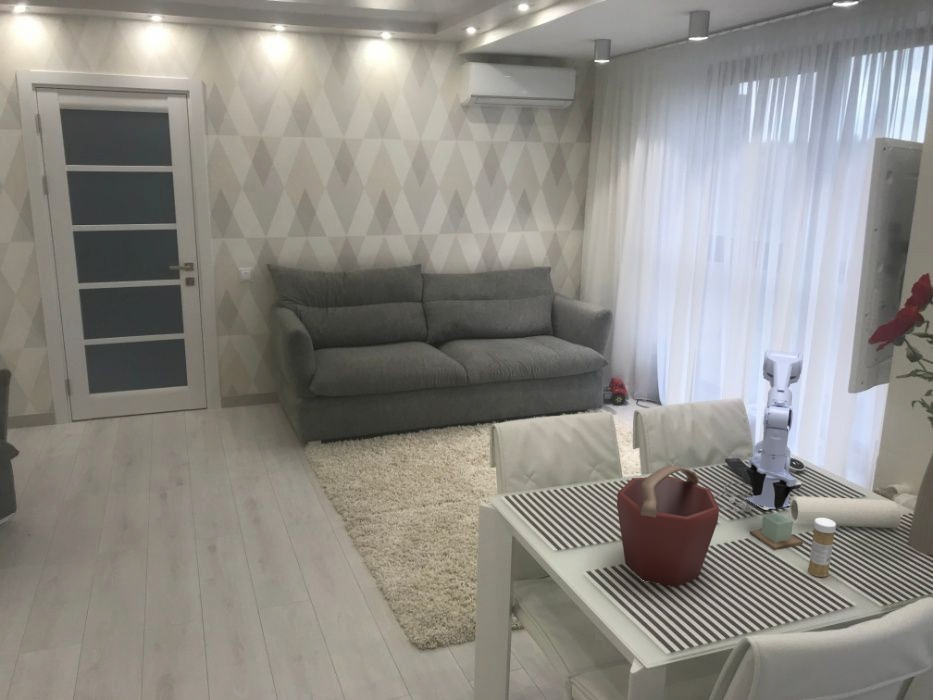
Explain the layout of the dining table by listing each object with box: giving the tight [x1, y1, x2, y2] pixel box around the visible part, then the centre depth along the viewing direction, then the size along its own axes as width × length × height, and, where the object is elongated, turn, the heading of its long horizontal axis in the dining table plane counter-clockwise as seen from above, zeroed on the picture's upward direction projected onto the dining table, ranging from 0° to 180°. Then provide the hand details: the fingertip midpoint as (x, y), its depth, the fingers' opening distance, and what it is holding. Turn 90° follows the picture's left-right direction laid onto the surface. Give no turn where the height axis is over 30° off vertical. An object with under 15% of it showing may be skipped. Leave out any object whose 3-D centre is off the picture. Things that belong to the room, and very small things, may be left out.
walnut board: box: [749, 528, 804, 551], centre depth 192 cm, size 9×9×1 cm
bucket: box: [616, 464, 720, 588], centre depth 175 cm, size 24×22×25 cm
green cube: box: [761, 512, 794, 543], centre depth 191 cm, size 5×5×5 cm
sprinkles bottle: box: [807, 517, 837, 578], centre depth 174 cm, size 5×5×13 cm
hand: (767, 501), depth 192 cm, fingers open, 7 cm apart
